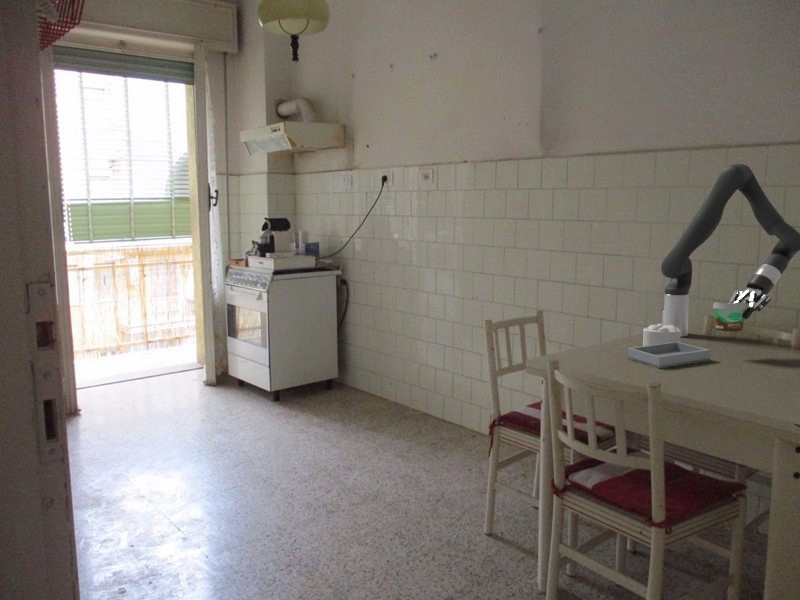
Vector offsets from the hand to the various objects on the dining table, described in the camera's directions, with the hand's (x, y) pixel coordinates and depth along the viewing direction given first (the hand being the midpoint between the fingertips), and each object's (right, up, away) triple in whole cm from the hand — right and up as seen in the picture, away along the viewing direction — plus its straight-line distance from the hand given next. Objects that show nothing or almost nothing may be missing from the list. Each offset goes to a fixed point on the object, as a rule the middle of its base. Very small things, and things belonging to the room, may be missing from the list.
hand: (737, 316), depth 235 cm
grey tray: (-24, -16, +2) cm, 28 cm away
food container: (-1, -5, 0) cm, 5 cm away
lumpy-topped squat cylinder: (-18, -13, +22) cm, 31 cm away
